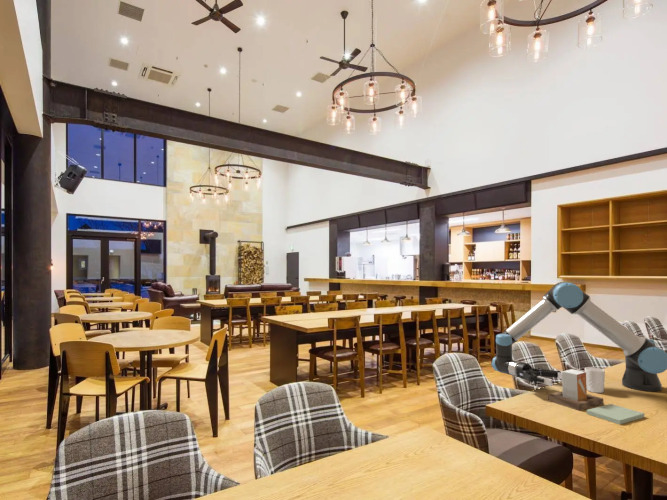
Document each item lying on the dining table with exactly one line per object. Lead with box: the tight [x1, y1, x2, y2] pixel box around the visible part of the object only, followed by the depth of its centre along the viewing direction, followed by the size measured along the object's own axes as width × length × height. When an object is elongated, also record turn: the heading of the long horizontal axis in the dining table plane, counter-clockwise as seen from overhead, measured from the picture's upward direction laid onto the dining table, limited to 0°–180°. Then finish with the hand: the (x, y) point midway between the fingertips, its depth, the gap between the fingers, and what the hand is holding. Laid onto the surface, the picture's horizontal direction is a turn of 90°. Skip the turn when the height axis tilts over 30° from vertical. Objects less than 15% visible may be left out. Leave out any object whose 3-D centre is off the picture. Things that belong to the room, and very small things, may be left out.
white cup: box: [584, 366, 606, 394], centre depth 183 cm, size 8×8×10 cm
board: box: [585, 403, 645, 425], centre depth 152 cm, size 16×12×2 cm
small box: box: [561, 368, 588, 402], centre depth 168 cm, size 8×6×13 cm
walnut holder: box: [546, 390, 604, 412], centre depth 168 cm, size 16×14×2 cm
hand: (562, 380), depth 172 cm, fingers open, 13 cm apart
